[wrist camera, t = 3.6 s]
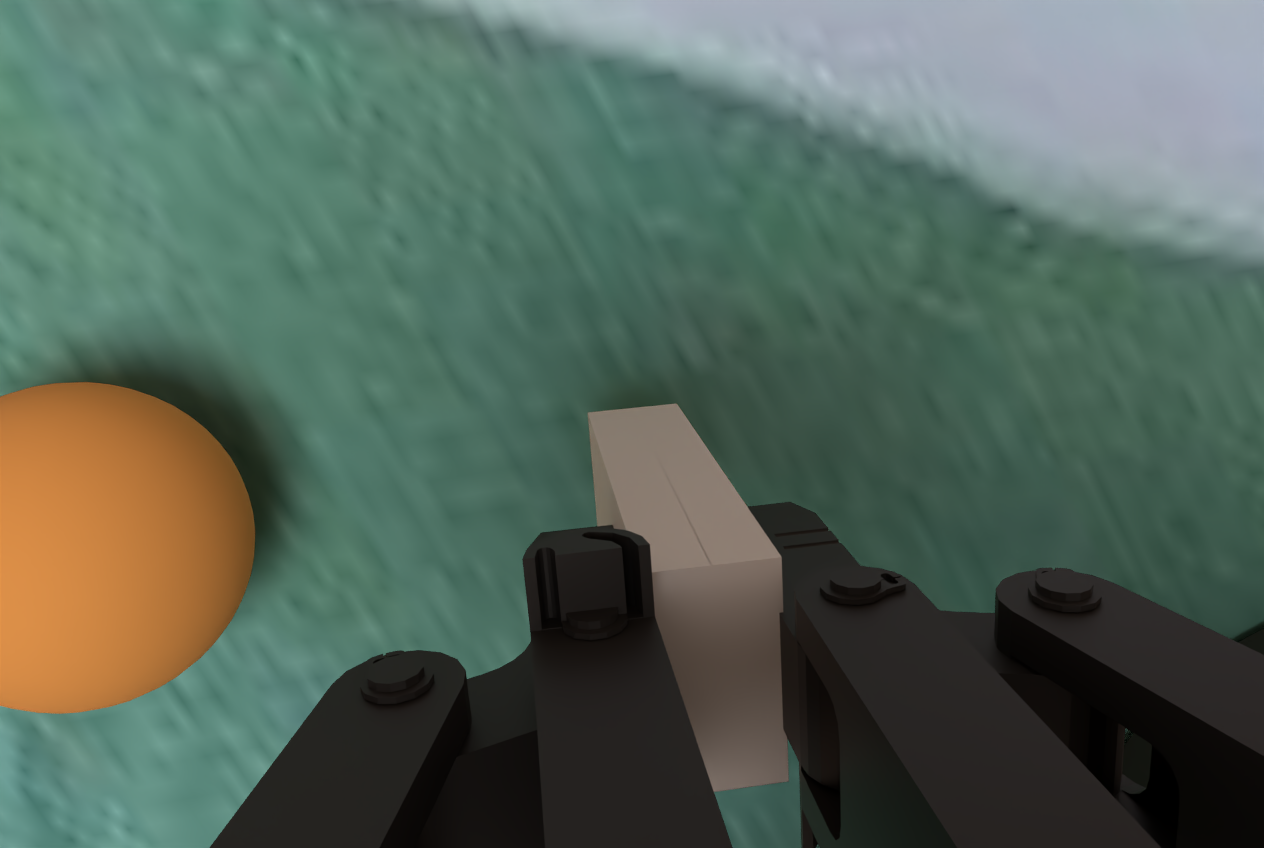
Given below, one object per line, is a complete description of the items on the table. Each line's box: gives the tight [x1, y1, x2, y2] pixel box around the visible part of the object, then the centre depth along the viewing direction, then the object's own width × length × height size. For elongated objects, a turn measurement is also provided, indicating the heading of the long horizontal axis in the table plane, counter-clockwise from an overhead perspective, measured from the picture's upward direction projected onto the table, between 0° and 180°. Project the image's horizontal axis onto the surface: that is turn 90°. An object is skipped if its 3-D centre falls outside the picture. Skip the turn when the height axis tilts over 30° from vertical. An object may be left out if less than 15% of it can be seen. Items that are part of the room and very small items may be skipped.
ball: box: [0, 382, 255, 714], centre depth 17 cm, size 6×6×6 cm
